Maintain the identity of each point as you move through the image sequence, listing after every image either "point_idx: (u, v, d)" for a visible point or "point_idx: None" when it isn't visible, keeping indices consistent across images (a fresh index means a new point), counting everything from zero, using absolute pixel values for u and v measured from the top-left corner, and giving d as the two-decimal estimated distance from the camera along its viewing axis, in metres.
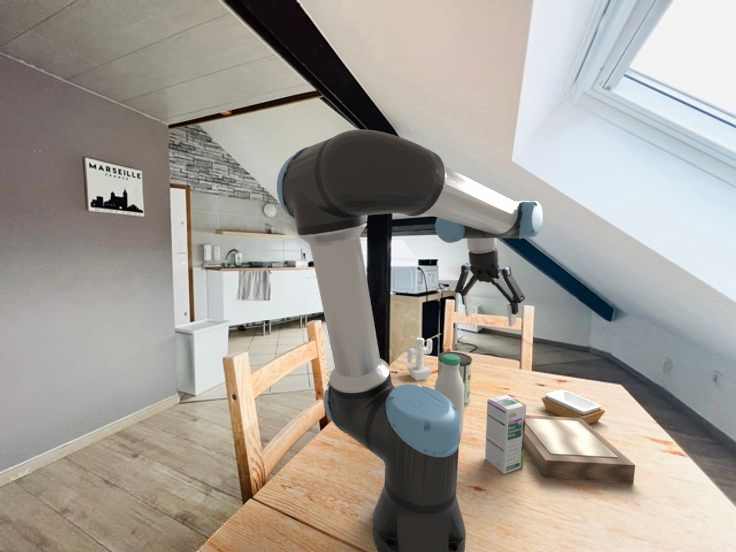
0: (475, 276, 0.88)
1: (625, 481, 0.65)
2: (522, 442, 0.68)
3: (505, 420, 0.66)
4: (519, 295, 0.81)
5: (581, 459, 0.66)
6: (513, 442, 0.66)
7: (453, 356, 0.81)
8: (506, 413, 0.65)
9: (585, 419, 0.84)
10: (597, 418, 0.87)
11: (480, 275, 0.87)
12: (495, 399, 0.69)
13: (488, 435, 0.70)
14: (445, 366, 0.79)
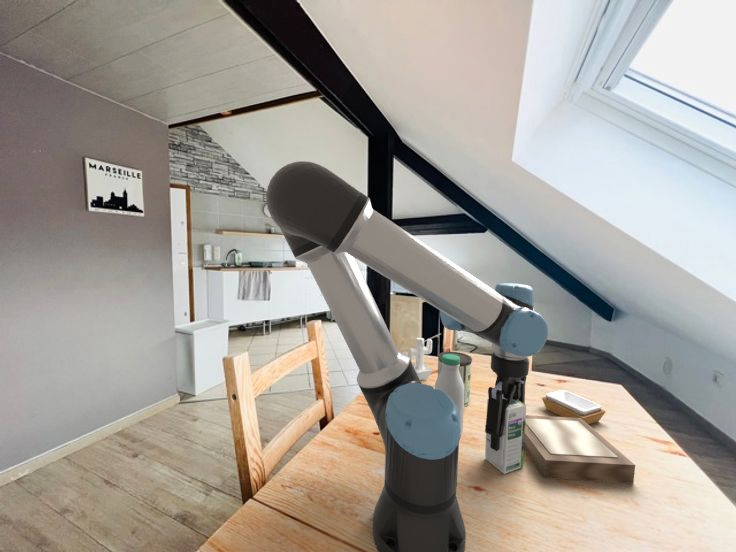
0: None
1: (625, 481, 0.65)
2: (522, 442, 0.68)
3: (505, 420, 0.66)
4: (488, 426, 0.65)
5: (581, 459, 0.66)
6: (513, 442, 0.66)
7: (453, 356, 0.81)
8: (506, 413, 0.65)
9: (585, 419, 0.84)
10: (597, 418, 0.87)
11: None
12: None
13: (488, 435, 0.70)
14: (445, 366, 0.79)
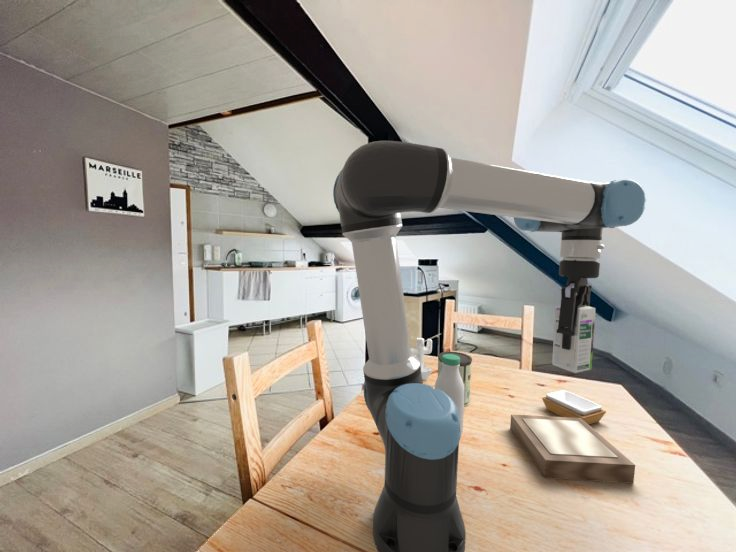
0: None
1: (625, 481, 0.65)
2: (591, 344, 0.70)
3: (577, 320, 0.68)
4: (562, 324, 0.67)
5: (581, 459, 0.66)
6: (584, 342, 0.69)
7: (453, 356, 0.81)
8: (578, 313, 0.68)
9: (585, 419, 0.84)
10: (598, 419, 0.87)
11: None
12: None
13: (556, 341, 0.72)
14: (445, 366, 0.79)
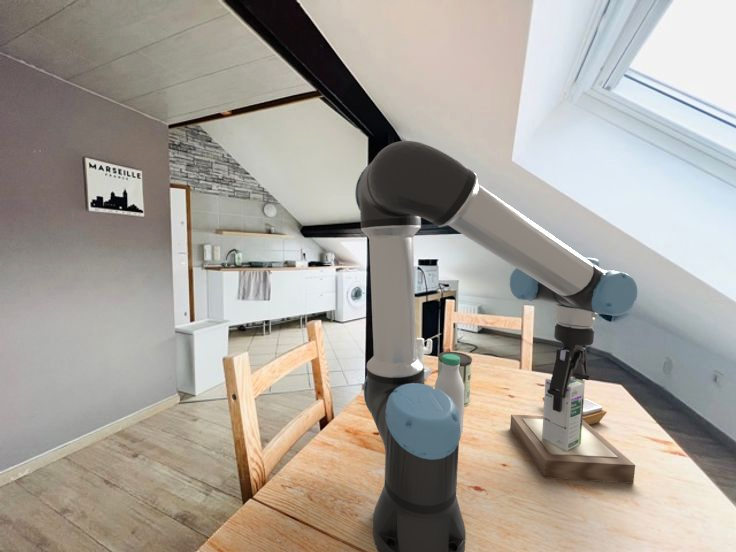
0: None
1: (625, 481, 0.65)
2: (581, 419, 0.69)
3: (568, 398, 0.67)
4: (553, 386, 0.66)
5: (581, 459, 0.66)
6: (574, 419, 0.68)
7: (453, 356, 0.81)
8: (569, 391, 0.67)
9: (585, 419, 0.84)
10: (598, 419, 0.87)
11: None
12: None
13: (546, 414, 0.71)
14: (445, 366, 0.79)
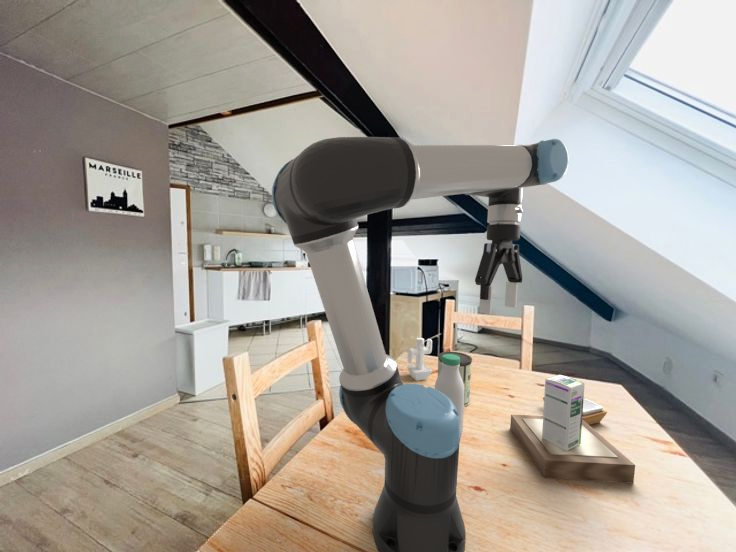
0: None
1: (625, 481, 0.65)
2: (581, 419, 0.69)
3: (568, 398, 0.67)
4: (479, 274, 0.71)
5: (581, 459, 0.66)
6: (574, 420, 0.68)
7: (453, 356, 0.81)
8: (569, 391, 0.67)
9: (585, 419, 0.84)
10: (599, 419, 0.87)
11: None
12: (553, 379, 0.71)
13: (546, 415, 0.71)
14: (445, 366, 0.79)
